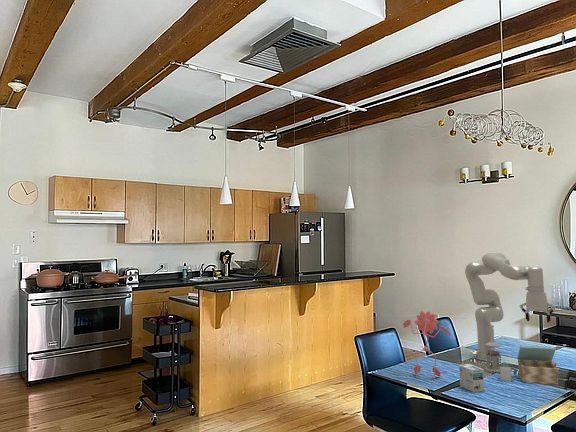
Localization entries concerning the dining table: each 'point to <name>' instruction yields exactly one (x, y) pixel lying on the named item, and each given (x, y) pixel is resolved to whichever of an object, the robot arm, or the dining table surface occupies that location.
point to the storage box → (538, 372)
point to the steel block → (505, 373)
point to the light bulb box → (472, 377)
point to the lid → (536, 353)
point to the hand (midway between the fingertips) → (538, 321)
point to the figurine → (426, 324)
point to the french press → (493, 356)
